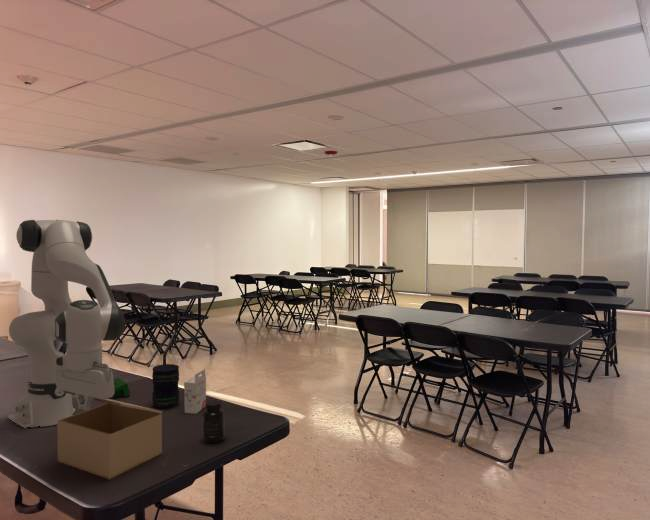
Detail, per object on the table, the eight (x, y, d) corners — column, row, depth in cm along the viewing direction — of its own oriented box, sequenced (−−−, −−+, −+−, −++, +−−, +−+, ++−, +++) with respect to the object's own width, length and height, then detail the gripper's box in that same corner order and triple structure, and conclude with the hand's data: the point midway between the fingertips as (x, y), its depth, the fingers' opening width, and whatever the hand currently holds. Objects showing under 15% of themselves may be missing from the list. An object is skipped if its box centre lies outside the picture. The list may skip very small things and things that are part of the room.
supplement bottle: (204, 435, 154) (204, 399, 154) (225, 434, 155) (225, 398, 154) (200, 444, 147) (200, 406, 147) (222, 443, 148) (222, 406, 148)
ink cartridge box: (194, 405, 183) (194, 367, 182) (206, 406, 182) (206, 368, 181) (183, 413, 174) (183, 373, 174) (196, 414, 173) (196, 374, 173)
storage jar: (148, 410, 177) (148, 370, 177) (157, 401, 187) (157, 364, 187) (174, 410, 177) (174, 370, 177) (182, 401, 187) (182, 364, 187)
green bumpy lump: (110, 404, 196) (102, 384, 197) (124, 397, 200) (116, 378, 201) (116, 400, 187) (108, 379, 188) (131, 394, 190) (123, 373, 191)
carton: (57, 461, 135) (57, 420, 134) (111, 438, 151) (111, 401, 150) (110, 479, 125) (110, 435, 124) (162, 453, 141) (161, 413, 141)
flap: (62, 392, 136) (63, 390, 136) (111, 401, 150) (112, 399, 151) (115, 404, 126) (116, 402, 126) (161, 413, 141) (162, 411, 141)
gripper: (120, 362, 128) (120, 412, 128) (71, 353, 137) (71, 400, 137) (99, 367, 122) (100, 420, 122) (50, 358, 131) (50, 407, 132)
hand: (84, 409), depth 130 cm, fingers closed
